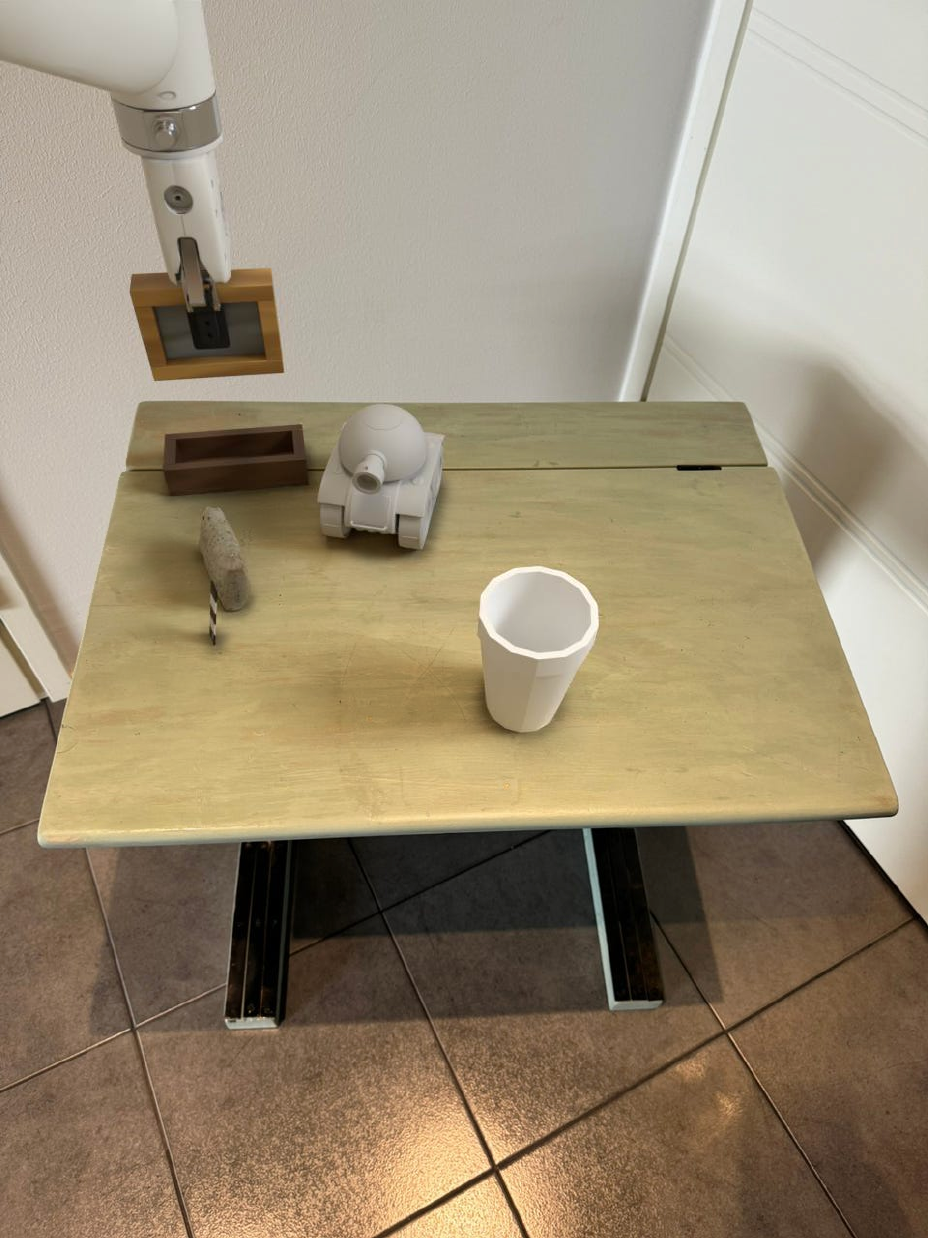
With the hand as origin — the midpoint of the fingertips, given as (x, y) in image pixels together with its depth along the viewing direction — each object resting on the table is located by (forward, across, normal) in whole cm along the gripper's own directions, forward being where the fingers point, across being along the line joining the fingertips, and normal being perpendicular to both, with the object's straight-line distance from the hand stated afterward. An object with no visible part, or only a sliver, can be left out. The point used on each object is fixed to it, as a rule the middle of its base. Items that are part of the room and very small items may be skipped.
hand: (212, 334), depth 77 cm
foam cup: (+18, -32, -24) cm, 44 cm away
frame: (+4, 0, 0) cm, 4 cm away
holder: (+18, +2, 0) cm, 18 cm away
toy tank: (+18, -6, -15) cm, 24 cm away
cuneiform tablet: (+18, -16, +2) cm, 24 cm away
